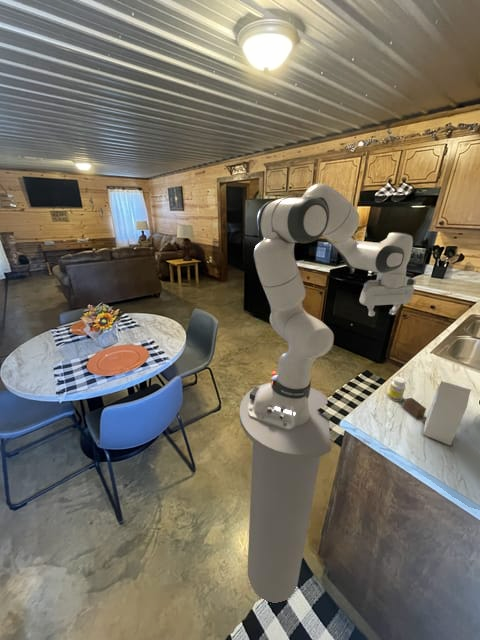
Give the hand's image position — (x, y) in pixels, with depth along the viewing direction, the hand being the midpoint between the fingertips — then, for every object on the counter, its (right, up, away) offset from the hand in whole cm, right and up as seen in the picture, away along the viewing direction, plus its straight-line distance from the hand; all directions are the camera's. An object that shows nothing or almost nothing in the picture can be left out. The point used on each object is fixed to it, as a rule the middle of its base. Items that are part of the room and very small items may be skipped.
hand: (381, 315), depth 100 cm
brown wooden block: (+8, -35, -5) cm, 37 cm away
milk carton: (+10, -39, -14) cm, 43 cm away
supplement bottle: (+6, -32, +2) cm, 33 cm away
